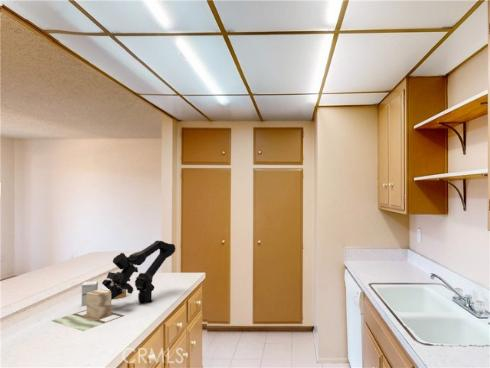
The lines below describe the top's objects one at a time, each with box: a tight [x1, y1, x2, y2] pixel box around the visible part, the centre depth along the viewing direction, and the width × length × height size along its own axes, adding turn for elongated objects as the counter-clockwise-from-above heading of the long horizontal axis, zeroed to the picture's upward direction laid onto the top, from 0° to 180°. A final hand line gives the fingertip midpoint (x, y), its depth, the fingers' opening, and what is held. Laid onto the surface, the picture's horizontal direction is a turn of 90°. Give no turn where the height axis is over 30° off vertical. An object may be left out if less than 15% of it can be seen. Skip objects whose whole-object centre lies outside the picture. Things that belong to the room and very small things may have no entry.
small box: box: [109, 279, 127, 300], centre depth 204 cm, size 8×6×13 cm
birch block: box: [86, 288, 112, 319], centre depth 169 cm, size 8×8×11 cm
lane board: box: [51, 309, 126, 332], centre depth 164 cm, size 22×25×2 cm
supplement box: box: [81, 280, 99, 307], centre depth 187 cm, size 7×7×13 cm
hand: (107, 301), depth 173 cm, fingers closed
